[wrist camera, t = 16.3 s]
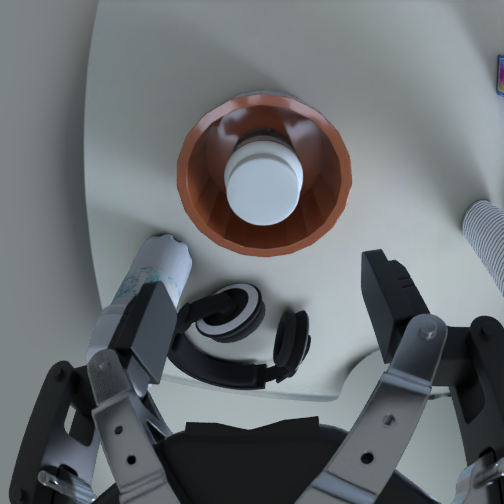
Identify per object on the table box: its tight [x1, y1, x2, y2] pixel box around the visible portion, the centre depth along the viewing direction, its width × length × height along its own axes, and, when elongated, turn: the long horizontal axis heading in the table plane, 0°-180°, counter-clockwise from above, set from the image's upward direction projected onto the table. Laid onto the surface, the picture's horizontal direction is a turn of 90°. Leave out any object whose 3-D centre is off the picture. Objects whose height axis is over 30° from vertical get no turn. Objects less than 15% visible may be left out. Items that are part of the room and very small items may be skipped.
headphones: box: [167, 284, 311, 390], centre depth 38 cm, size 18×8×20 cm
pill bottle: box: [224, 127, 303, 225], centre depth 23 cm, size 6×6×10 cm
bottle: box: [86, 234, 192, 388], centre depth 26 cm, size 7×7×20 cm
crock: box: [177, 90, 352, 257], centre depth 24 cm, size 13×13×8 cm
